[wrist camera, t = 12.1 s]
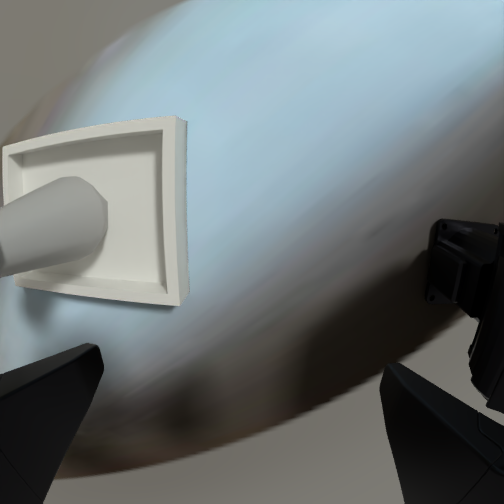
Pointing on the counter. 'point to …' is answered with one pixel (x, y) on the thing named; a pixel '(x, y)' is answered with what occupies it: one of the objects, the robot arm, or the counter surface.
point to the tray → (116, 207)
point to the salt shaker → (51, 226)
